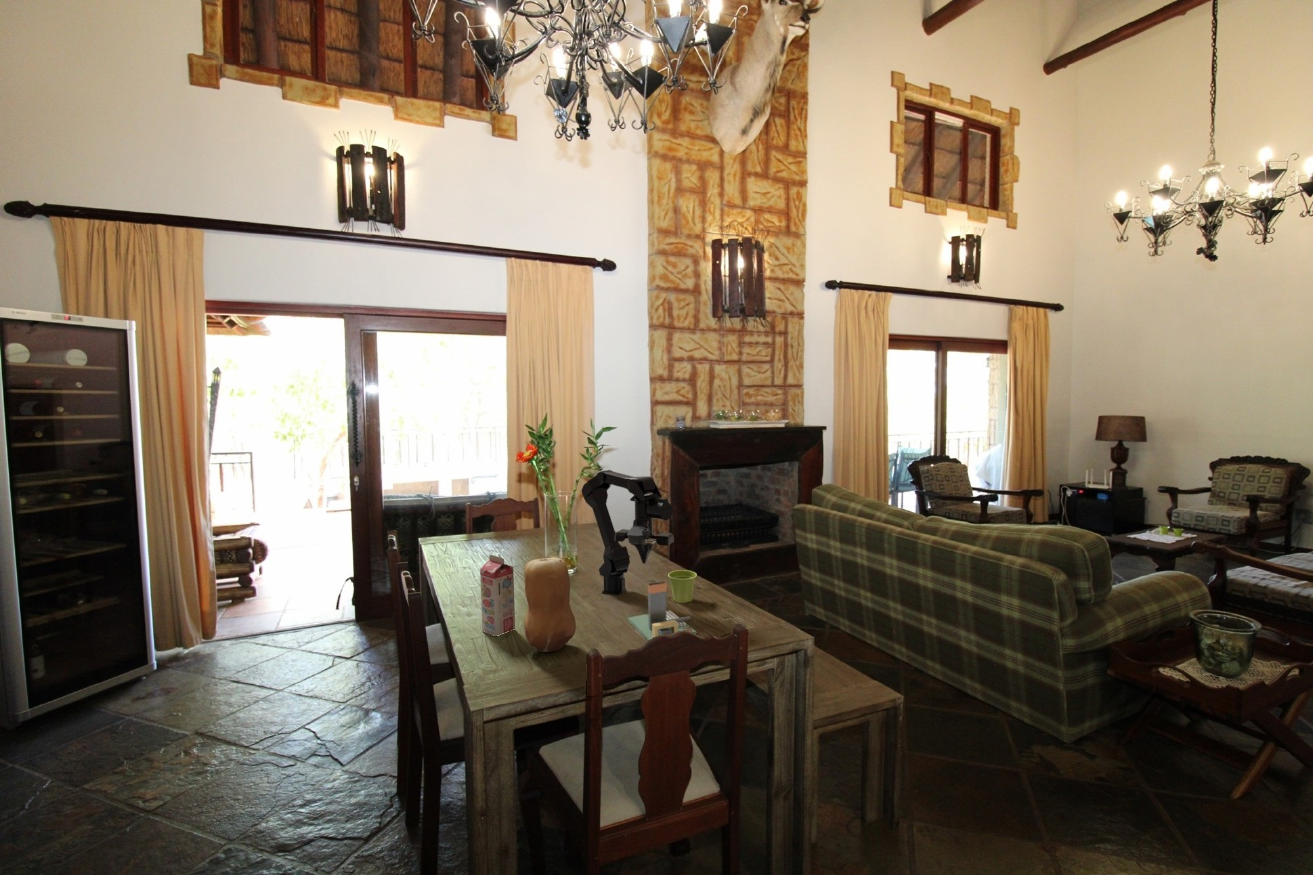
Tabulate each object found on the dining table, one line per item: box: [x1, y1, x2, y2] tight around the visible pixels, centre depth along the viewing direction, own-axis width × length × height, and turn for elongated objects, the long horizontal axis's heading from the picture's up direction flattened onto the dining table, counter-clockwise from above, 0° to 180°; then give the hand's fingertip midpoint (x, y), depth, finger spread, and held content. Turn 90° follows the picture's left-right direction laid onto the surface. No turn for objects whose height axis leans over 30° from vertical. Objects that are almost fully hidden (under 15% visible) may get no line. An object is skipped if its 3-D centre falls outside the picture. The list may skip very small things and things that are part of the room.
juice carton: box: [479, 553, 516, 636], centre depth 176 cm, size 7×7×22 cm
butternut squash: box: [523, 557, 577, 653], centre depth 162 cm, size 14×13×25 cm
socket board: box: [627, 610, 697, 641], centre depth 178 cm, size 18×14×4 cm
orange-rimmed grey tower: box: [647, 581, 692, 635], centre depth 173 cm, size 8×13×13 cm, turn 114°
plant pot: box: [667, 569, 698, 604], centre depth 200 cm, size 9×9×9 cm
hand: (644, 563), depth 198 cm, fingers closed
